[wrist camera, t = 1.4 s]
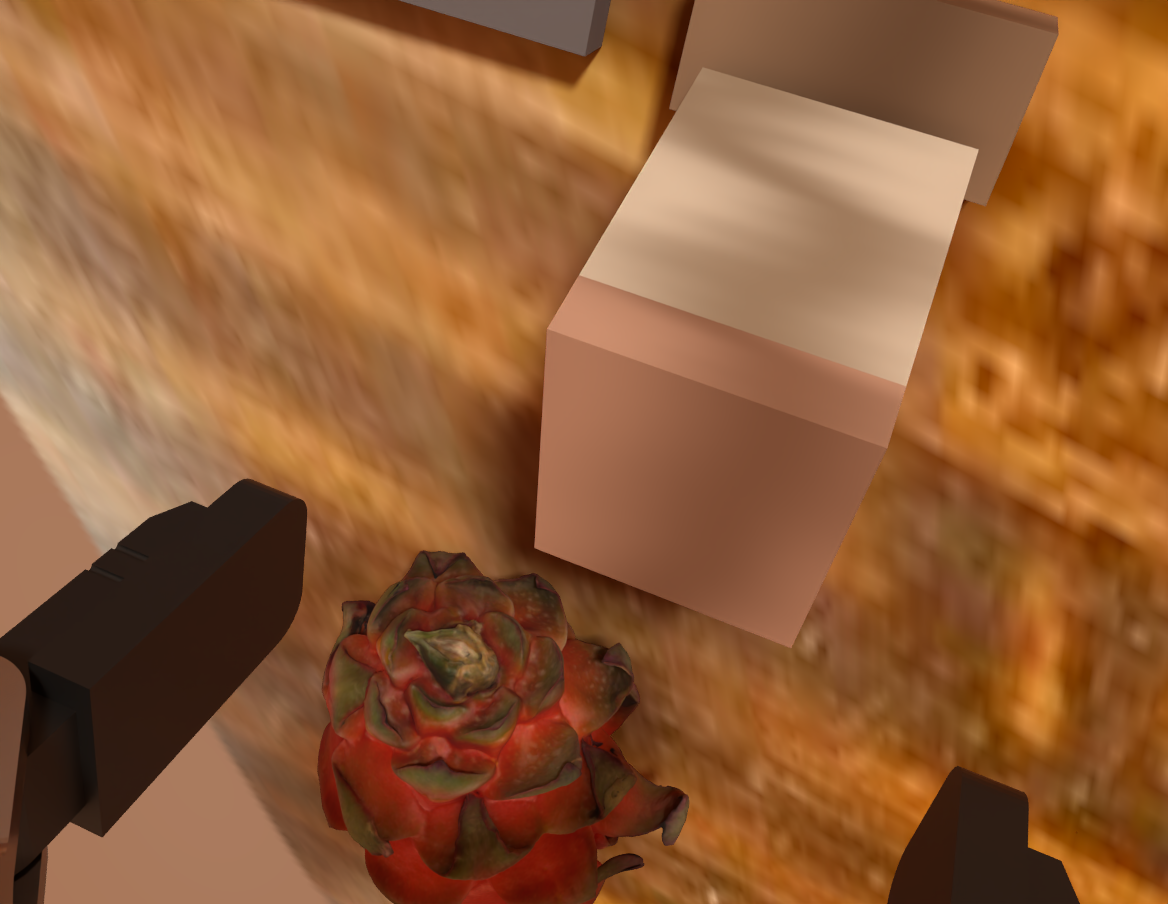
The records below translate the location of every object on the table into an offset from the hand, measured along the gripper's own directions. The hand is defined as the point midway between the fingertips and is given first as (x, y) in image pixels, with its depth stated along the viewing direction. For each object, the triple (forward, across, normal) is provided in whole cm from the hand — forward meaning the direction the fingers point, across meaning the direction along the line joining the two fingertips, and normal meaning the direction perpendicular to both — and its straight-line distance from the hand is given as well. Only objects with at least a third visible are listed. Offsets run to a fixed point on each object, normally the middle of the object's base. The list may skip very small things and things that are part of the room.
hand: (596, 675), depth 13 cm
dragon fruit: (+13, +3, +14) cm, 19 cm away
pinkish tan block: (+13, 0, 0) cm, 13 cm away
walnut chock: (+13, 0, -5) cm, 14 cm away
